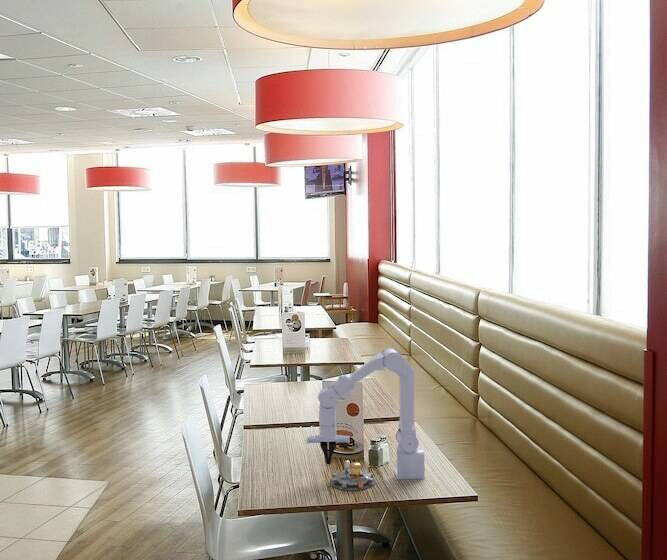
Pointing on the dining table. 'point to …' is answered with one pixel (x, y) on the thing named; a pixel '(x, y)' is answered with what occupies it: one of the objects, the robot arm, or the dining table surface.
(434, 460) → the dining table surface
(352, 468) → the roller
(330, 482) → the base flange
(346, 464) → the grey toothed wheel
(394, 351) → the robot arm
